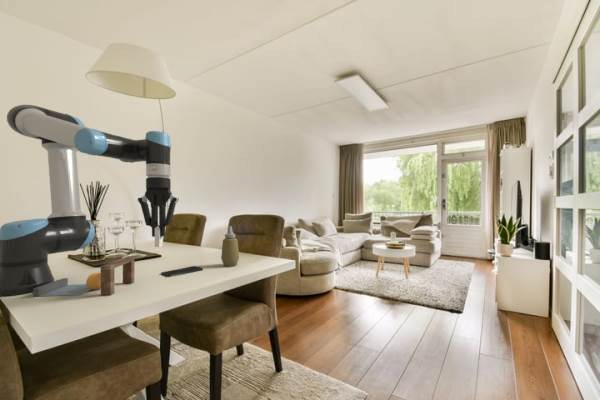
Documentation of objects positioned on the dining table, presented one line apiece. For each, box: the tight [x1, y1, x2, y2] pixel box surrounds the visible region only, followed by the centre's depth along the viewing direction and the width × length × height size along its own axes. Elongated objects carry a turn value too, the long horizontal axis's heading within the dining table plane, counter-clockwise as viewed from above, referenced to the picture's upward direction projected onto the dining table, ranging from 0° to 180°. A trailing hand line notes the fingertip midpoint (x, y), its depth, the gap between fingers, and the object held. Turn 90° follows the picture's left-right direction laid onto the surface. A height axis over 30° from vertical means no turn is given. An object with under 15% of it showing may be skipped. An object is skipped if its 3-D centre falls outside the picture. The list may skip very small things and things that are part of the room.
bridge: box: [100, 256, 135, 297], centre depth 94 cm, size 3×14×9 cm, turn 5°
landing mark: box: [39, 283, 93, 298], centre depth 92 cm, size 12×12×1 cm
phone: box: [160, 265, 204, 278], centre depth 116 cm, size 8×1×15 cm
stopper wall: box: [32, 277, 69, 298], centre depth 92 cm, size 2×12×2 cm, turn 5°
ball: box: [85, 272, 101, 291], centre depth 93 cm, size 6×6×6 cm
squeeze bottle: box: [220, 225, 240, 268], centre depth 127 cm, size 8×8×18 cm
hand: (158, 246), depth 95 cm, fingers closed
